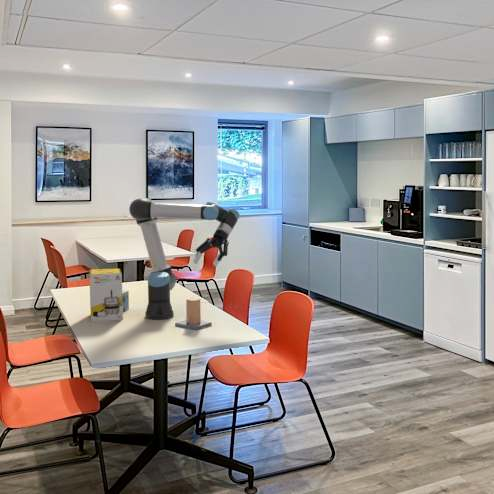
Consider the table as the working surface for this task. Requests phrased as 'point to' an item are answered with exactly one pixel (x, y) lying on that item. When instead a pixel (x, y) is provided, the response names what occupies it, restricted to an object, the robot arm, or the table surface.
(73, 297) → the table surface
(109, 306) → the packaging box
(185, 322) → the pin tray
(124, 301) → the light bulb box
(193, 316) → the case
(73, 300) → the table surface
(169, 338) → the table surface
